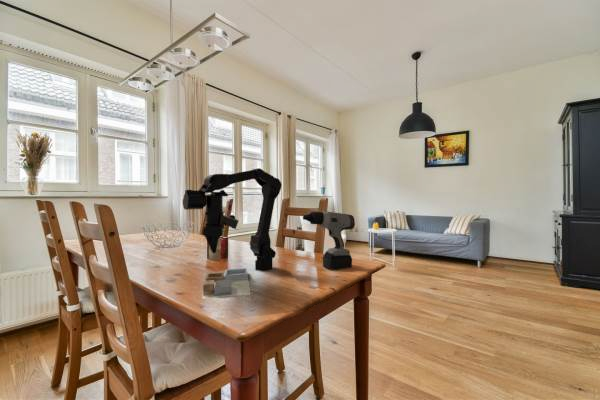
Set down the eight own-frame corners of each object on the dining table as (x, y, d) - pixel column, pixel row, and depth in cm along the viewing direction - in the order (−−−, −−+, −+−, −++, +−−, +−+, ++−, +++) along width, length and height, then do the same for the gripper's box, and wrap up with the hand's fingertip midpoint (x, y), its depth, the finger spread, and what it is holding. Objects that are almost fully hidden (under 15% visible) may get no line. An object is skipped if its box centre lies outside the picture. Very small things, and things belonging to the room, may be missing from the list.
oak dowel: (221, 258, 98) (221, 236, 98) (218, 260, 94) (219, 238, 94) (210, 258, 98) (211, 236, 98) (207, 260, 94) (207, 238, 94)
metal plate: (231, 286, 88) (231, 279, 88) (231, 294, 81) (231, 286, 81) (215, 288, 87) (215, 280, 87) (214, 295, 80) (214, 287, 80)
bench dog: (214, 289, 85) (214, 280, 85) (213, 294, 81) (213, 283, 81) (204, 290, 84) (204, 280, 84) (203, 295, 81) (203, 284, 81)
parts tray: (246, 273, 103) (246, 268, 103) (247, 279, 96) (247, 273, 96) (225, 275, 101) (225, 269, 101) (224, 281, 94) (224, 275, 94)
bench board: (246, 275, 105) (246, 272, 105) (250, 298, 81) (250, 294, 81) (209, 277, 102) (209, 274, 102) (202, 302, 78) (202, 298, 78)
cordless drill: (300, 269, 114) (299, 211, 113) (347, 263, 123) (347, 209, 123) (307, 273, 107) (307, 212, 106) (357, 267, 116) (357, 210, 116)
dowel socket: (224, 276, 100) (224, 272, 100) (223, 281, 94) (223, 276, 94) (207, 277, 98) (207, 273, 98) (205, 282, 93) (205, 278, 93)
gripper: (237, 209, 89) (237, 256, 89) (236, 207, 107) (237, 246, 107) (202, 210, 86) (202, 257, 86) (207, 208, 104) (208, 247, 104)
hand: (214, 251), depth 96 cm, fingers closed on oak dowel, 4 cm apart
